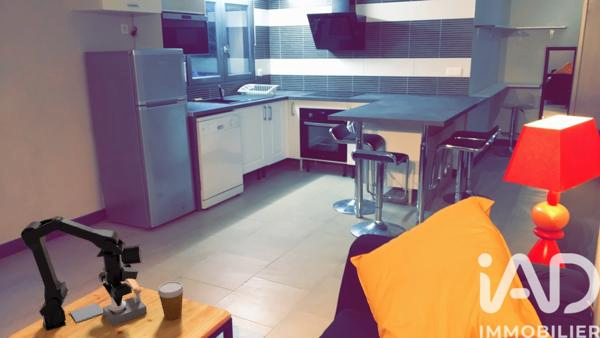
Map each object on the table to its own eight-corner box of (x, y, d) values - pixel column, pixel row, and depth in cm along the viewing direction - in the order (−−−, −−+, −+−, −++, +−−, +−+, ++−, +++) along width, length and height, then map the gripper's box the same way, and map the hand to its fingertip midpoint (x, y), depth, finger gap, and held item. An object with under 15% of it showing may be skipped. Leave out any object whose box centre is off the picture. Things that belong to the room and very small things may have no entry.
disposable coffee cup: (158, 312, 179) (155, 283, 176) (183, 306, 183) (181, 278, 180) (162, 324, 170) (159, 295, 167) (188, 318, 174) (186, 289, 171)
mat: (76, 323, 172) (76, 321, 172) (70, 312, 179) (69, 311, 179) (104, 313, 178) (104, 312, 178) (97, 303, 185) (96, 302, 185)
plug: (113, 320, 172) (111, 303, 170) (107, 313, 176) (105, 297, 175) (129, 314, 176) (127, 298, 174) (123, 308, 180) (121, 291, 178)
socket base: (112, 325, 170) (110, 308, 168) (103, 314, 178) (101, 297, 176) (146, 313, 178) (145, 296, 176) (137, 302, 186) (135, 286, 184)
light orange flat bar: (125, 279, 189) (125, 276, 189) (132, 277, 191) (131, 275, 190) (135, 294, 178) (134, 291, 177) (141, 292, 179) (141, 289, 179)
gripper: (143, 267, 169) (147, 306, 173) (125, 251, 183) (129, 287, 187) (112, 277, 162) (117, 316, 166) (96, 259, 176) (100, 296, 180)
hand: (117, 303), depth 175 cm, fingers closed on plug, 4 cm apart
